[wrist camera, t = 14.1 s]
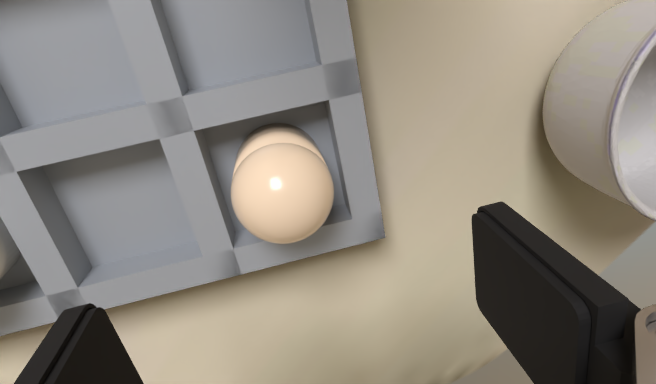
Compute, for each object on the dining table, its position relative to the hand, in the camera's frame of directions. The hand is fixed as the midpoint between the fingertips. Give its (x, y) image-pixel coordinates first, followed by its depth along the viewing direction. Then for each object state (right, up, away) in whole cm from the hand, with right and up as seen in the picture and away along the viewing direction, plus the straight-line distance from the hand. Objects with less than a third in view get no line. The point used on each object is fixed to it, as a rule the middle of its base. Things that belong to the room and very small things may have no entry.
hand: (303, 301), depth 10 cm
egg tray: (-11, +6, +11) cm, 16 cm away
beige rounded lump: (-2, +4, +12) cm, 13 cm away
